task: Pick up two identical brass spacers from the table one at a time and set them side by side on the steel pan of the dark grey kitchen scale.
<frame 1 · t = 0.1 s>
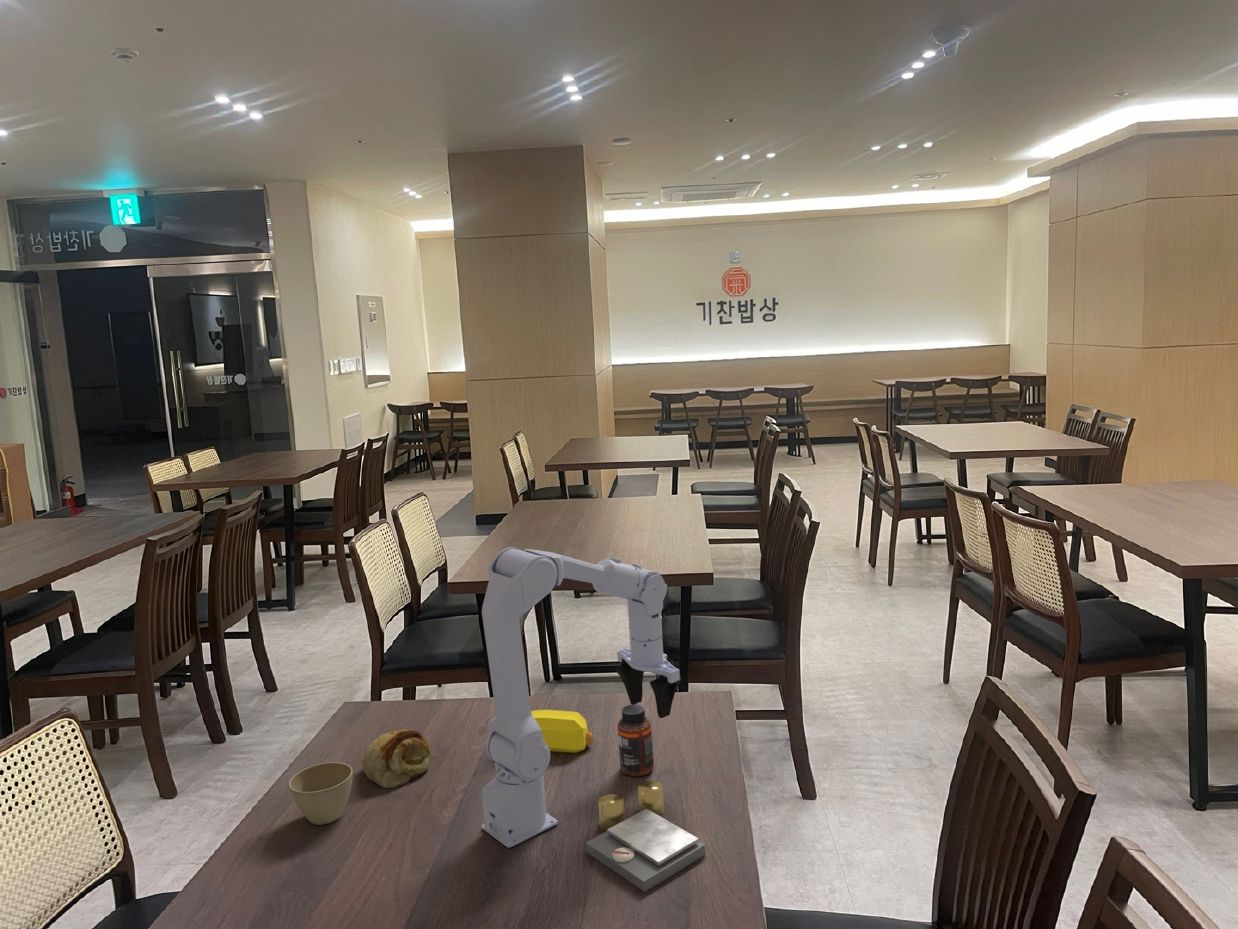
hand: (650, 709, 154), 10 cm above the table, tool pointing down, fingers open, 7 cm apart
flower pot: (326, 817, 145), on the table
scale: (645, 853, 129), on the table
yellow mustard bottle: (547, 748, 165), on the table
pastry: (399, 770, 159), on the table
supplement bottle: (637, 770, 154), on the table
spacer a: (612, 824, 137), on the table
pan: (652, 836, 130), point 2 cm above the table, slide at 0.1 cm, touching scale
spacer b: (651, 810, 141), on the table
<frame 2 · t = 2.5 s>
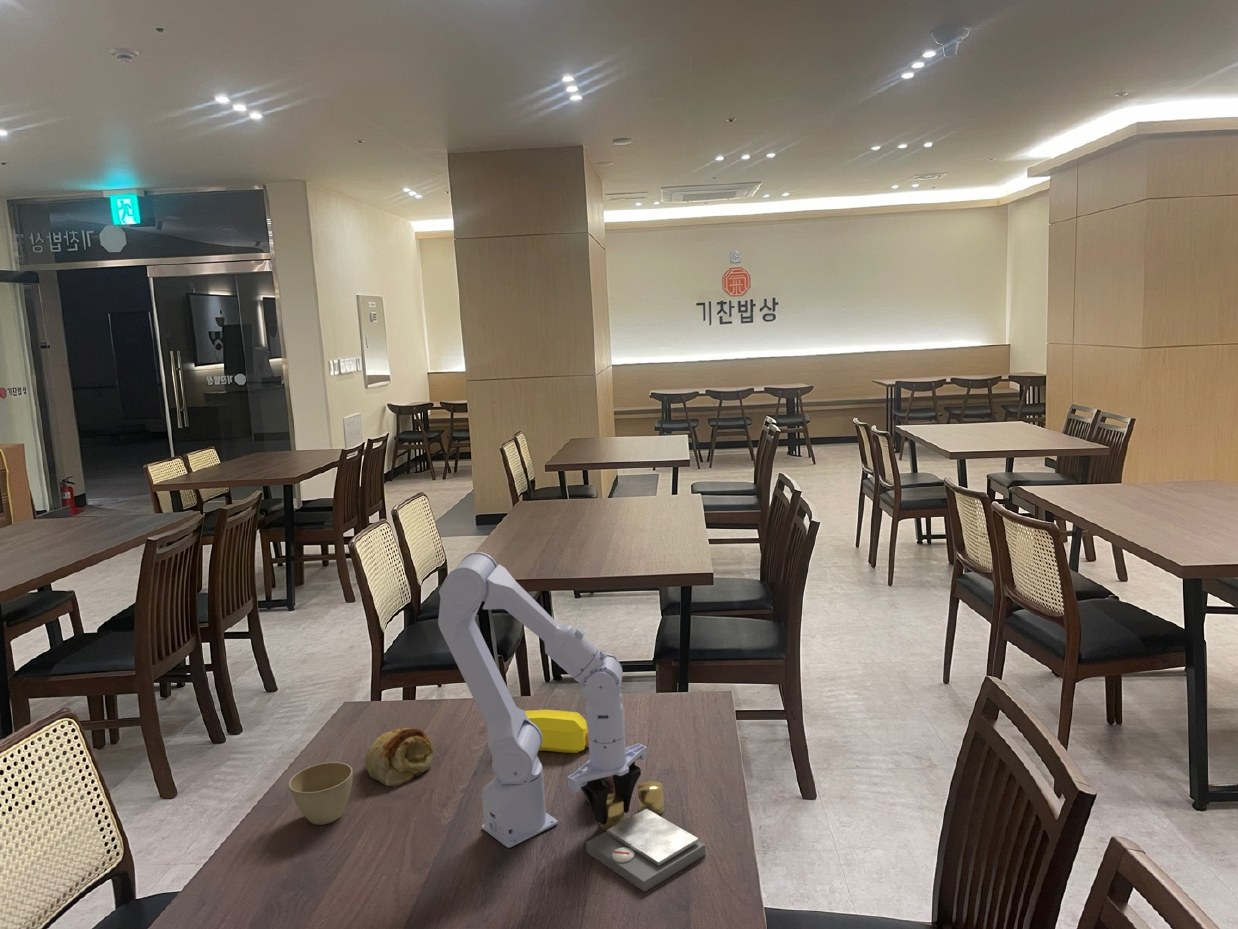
hand: (611, 815, 137), 1 cm above the table, tool pointing down, fingers closed on spacer a, 4 cm apart
supplement bottle: (614, 759, 152), point 3 cm above the table
spacer a: (612, 824, 137), on the table, touching gripper
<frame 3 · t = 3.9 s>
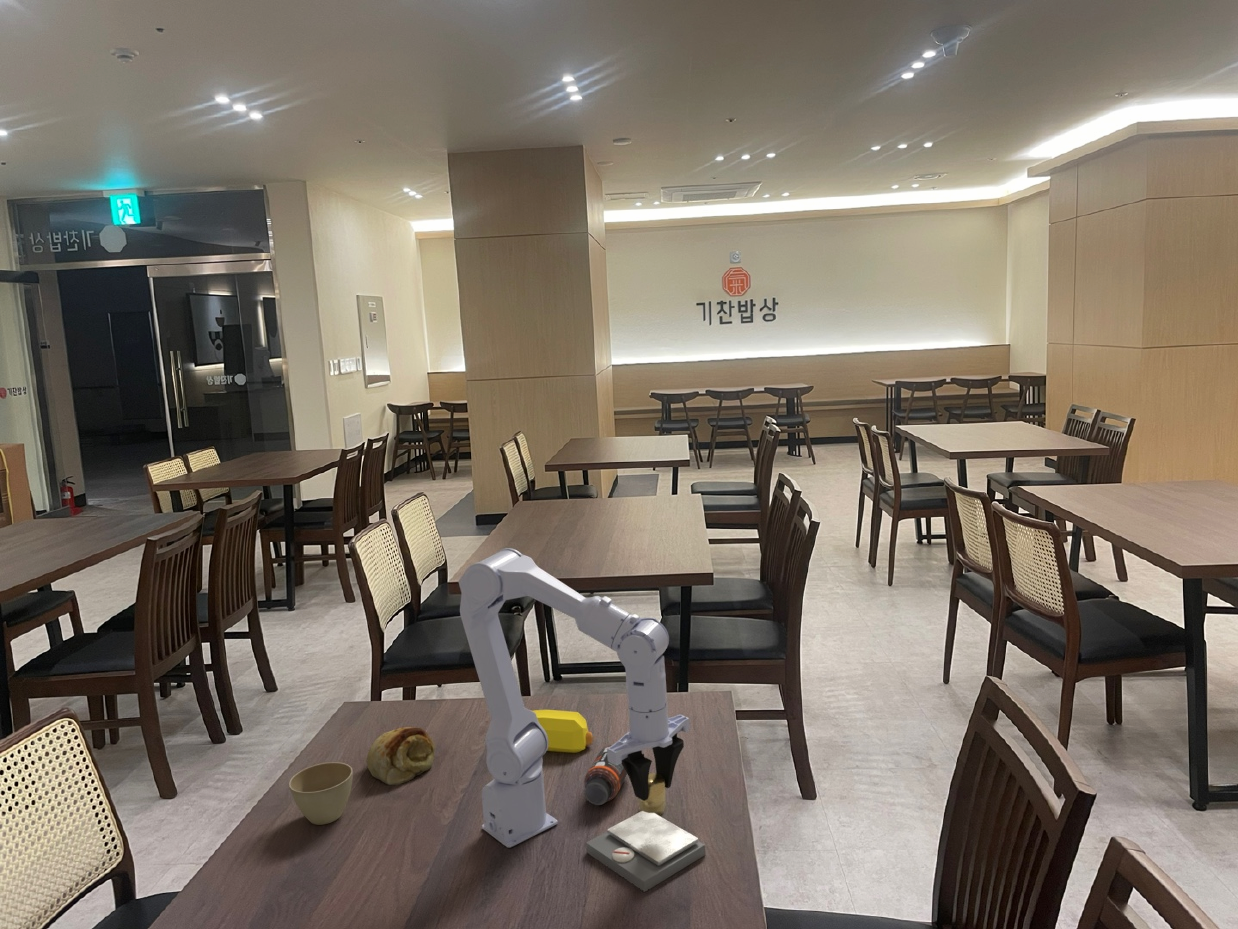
hand: (653, 791, 128), 10 cm above the table, tool pointing down, fingers closed on spacer a, 4 cm apart
spacer a: (652, 805, 129), point 7 cm above the table, touching gripper
when the fingers open (5 cm above the table, at t = 5.2 s): spacer a stays where it is, resting on pan.
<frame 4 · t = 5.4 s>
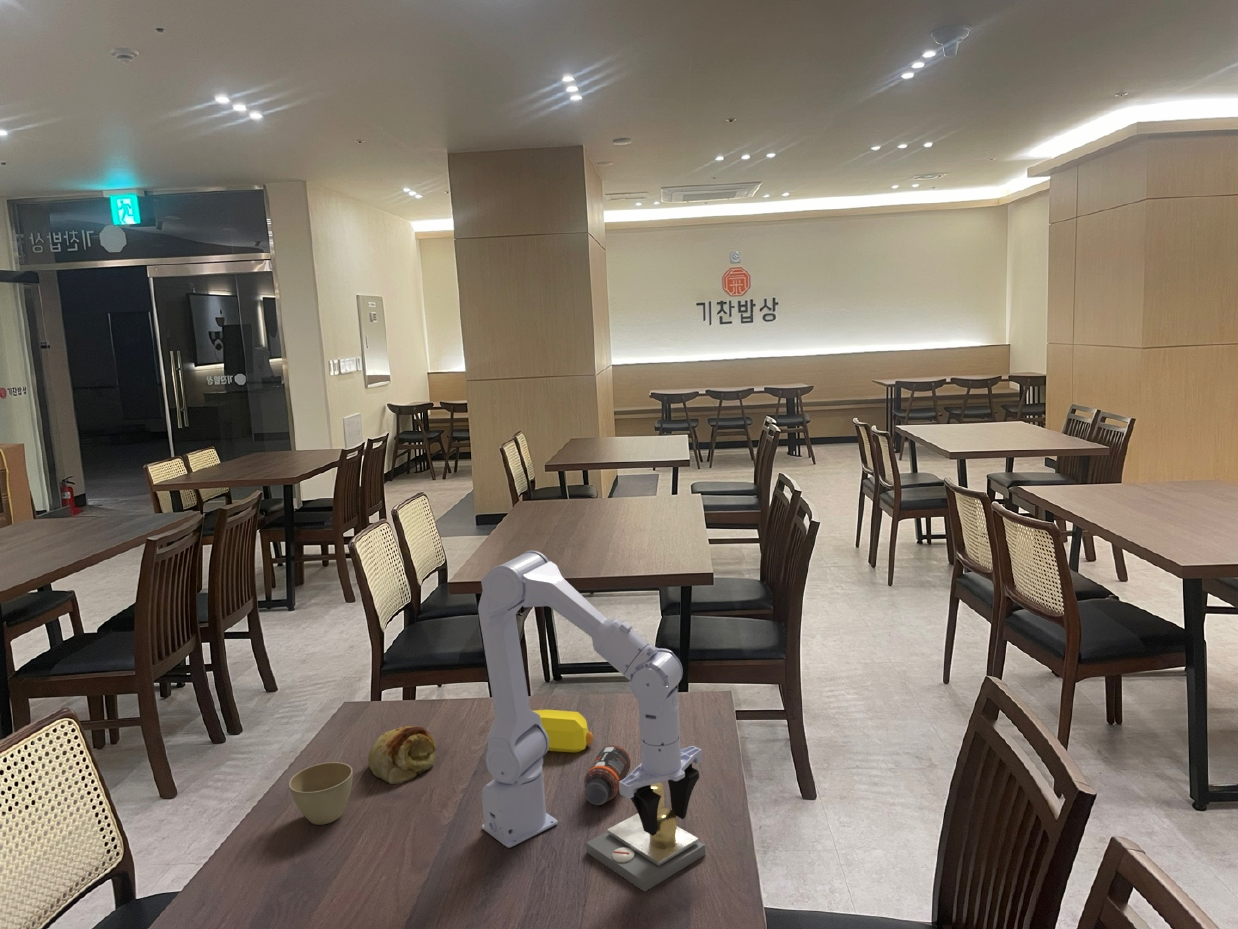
hand: (664, 824, 127), 5 cm above the table, tool pointing down, fingers open, 5 cm apart
spacer a: (663, 841, 128), point 3 cm above the table, touching pan
pan: (652, 836, 130), point 2 cm above the table, slide at 0.1 cm, touching scale, spacer a
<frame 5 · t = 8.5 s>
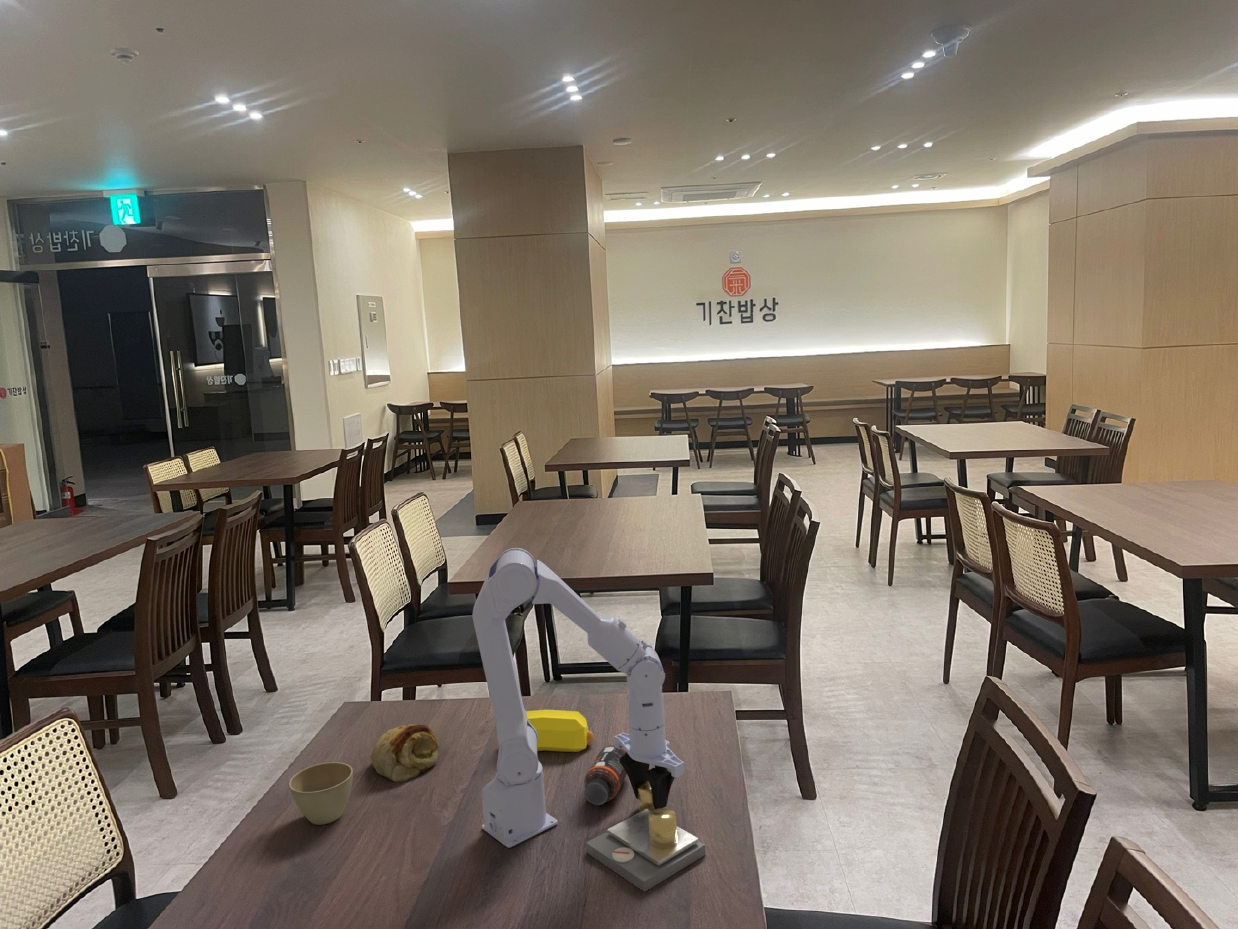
hand: (651, 802, 140), 1 cm above the table, tool pointing down, fingers closed on spacer b, 4 cm apart
spacer b: (651, 810, 141), on the table, touching gripper
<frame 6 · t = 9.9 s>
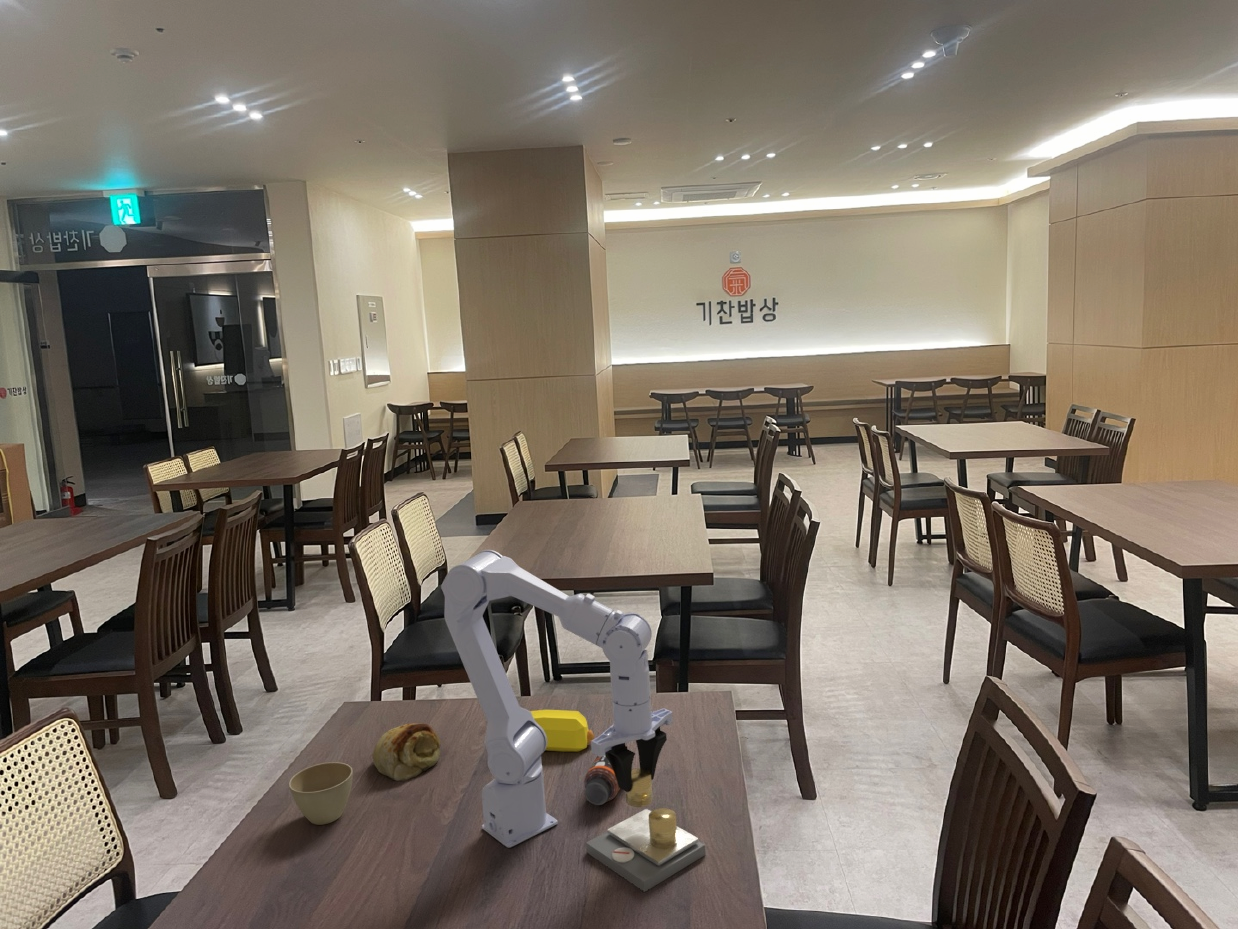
hand: (636, 783, 131), 9 cm above the table, tool pointing down, fingers closed on spacer b, 4 cm apart
spacer b: (639, 800, 131), point 7 cm above the table, touching gripper
when the fingers open (5 cm above the table, at t = 11.0 s): spacer b stays where it is, resting on pan.
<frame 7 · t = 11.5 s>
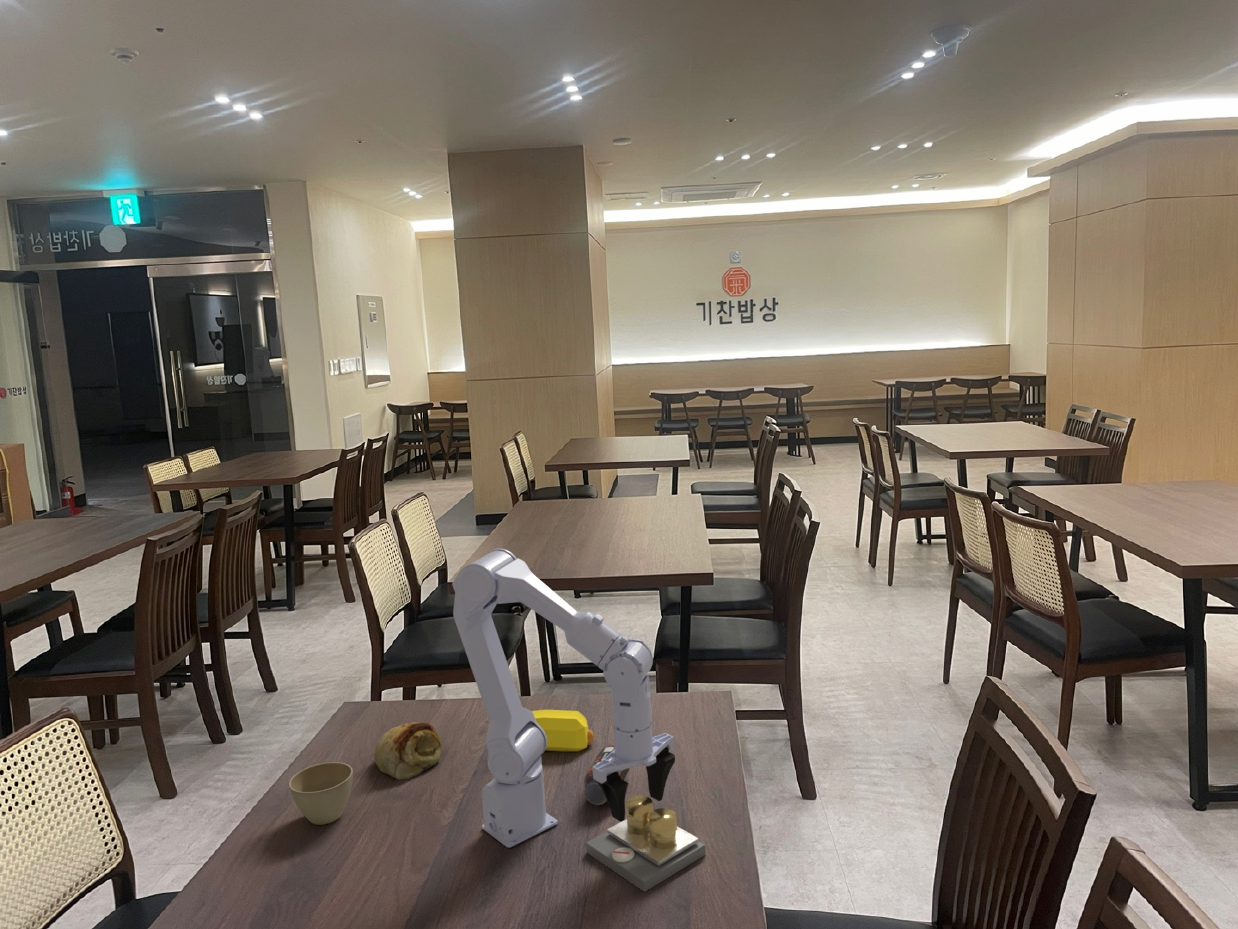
hand: (637, 808, 132), 5 cm above the table, tool pointing down, fingers open, 7 cm apart
pan: (652, 836, 130), point 2 cm above the table, slide at 0.1 cm, touching scale, spacer a, spacer b
spacer b: (640, 827, 132), point 2 cm above the table, touching pan
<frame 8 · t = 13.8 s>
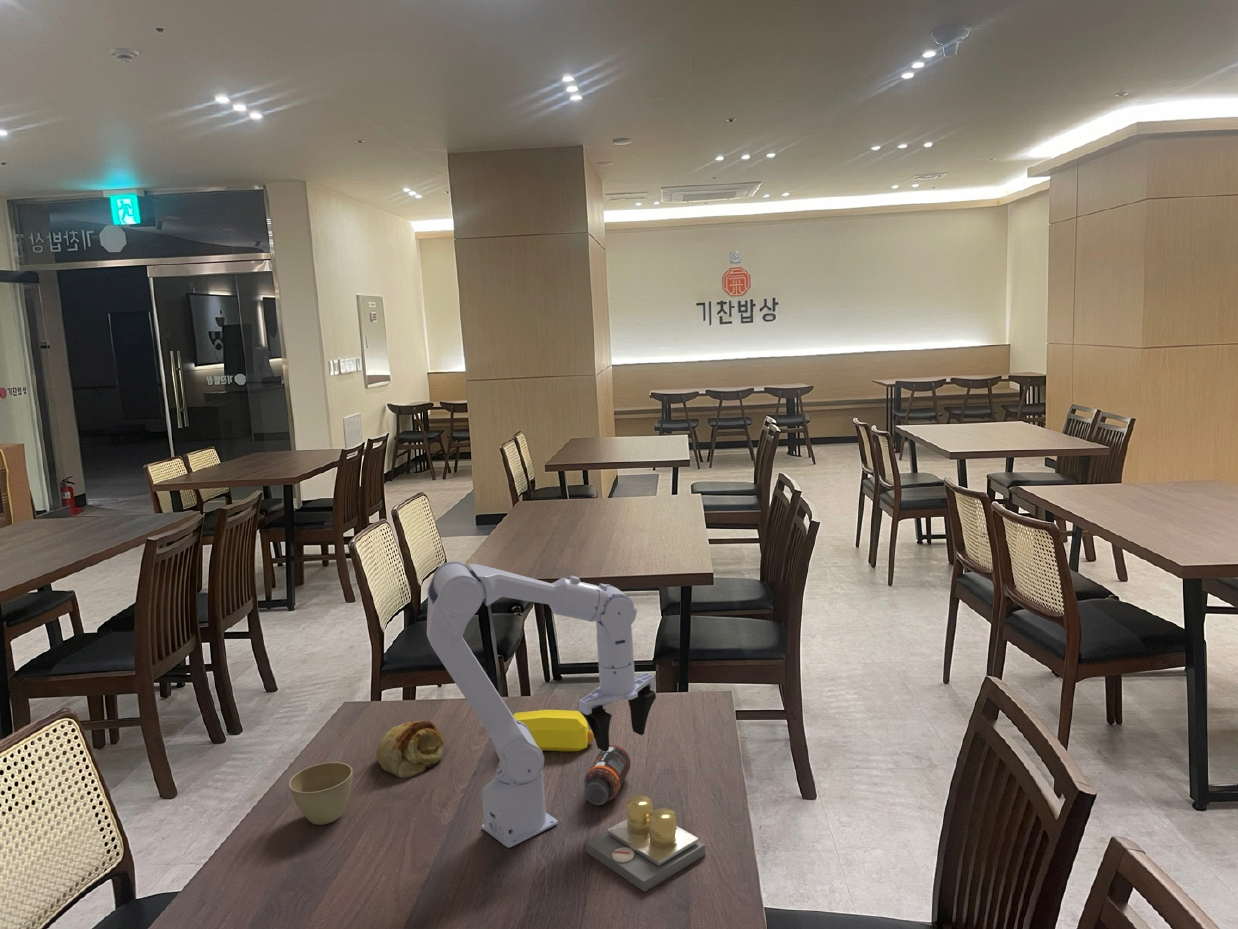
hand: (621, 740, 142), 10 cm above the table, tool pointing down, fingers open, 7 cm apart
at the end: spacer a inside the target area on the scale (2.6 cm from its centre), point 2.5 cm above the scale's base; spacer b inside the target area on the scale (2.6 cm from its centre), point 2.5 cm above the scale's base; spacer b tilted 0° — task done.
